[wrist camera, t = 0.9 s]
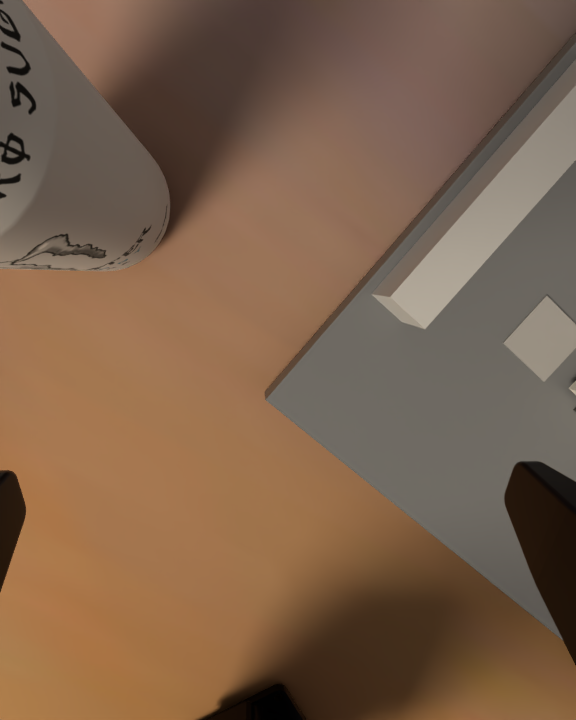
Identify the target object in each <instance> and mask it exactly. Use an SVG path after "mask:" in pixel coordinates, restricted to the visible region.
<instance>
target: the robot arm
mask: <svg viewBox="0 0 576 720" xmlns="http://www.w3.org/2000/svg"><path fill="white" fill-rule="evenodd" d="M504 502H505V507H506V510H507V512H508V515H509V518H510V520H511V523H512V525H513V528H514V531H515V533H516V536H517V538H518V541H519V544H520V546H521V549H522V551H523V554H524V557H525V559H526V562H527V565H528V567H529V570H530V572H531V575H532V577H533V579H534V582H535V584H536V586H537V588H538V591H539V593H540V595H541V597H542V599H543V601H544V603H545V605H546V607H547V609H548V611H549V613H550V615H551V617H552V619H553V621H554V623H555V625H556V627H557V629H558V631H559V633H560V635H561V637H562V639H563V641H564V643H565V645H566V647H567V649H568V651H569V653H570V655H571V657H572V659H573V661H574V663H575V665H576V481H574V480H572V479H570V478H569V477H567V476H565V475H563V474H562V473H560V472H558V471H557V470H555V469H553V468H551V467H550V466H548V465H546V464H544V463H543V462H540V461H520V462H517V463H516V464H515V465H514V467H513V470H512V473H511V476H510V479H509V482H508V485H507V488H506V490H505V494H504ZM25 515H26V506H25V502H24V498H23V495H22V492H21V489H20V485H19V482H18V479H17V476H16V474H15V473H14V472H12V471H9V470H1V471H0V592H1V589H2V586H3V583H4V580H5V577H6V574H7V571H8V568H9V565H10V562H11V559H12V556H13V553H14V550H15V547H16V544H17V541H18V538H19V535H20V532H21V529H22V526H23V523H24V520H25ZM277 694H281V695H277ZM207 720H306V719H305V717H304V716H303V714H302V712H301V711H300V709H299V707H298V706H297V704H296V703H295V701H294V699H293V698H292V696H291V695H290V693H289V691H288V690H287V688H286V687H285V686H284V685H281V684H277V685H274V686H272V687H270V688H268V689H266V690H264V691H262V692H260V693H258V694H256V695H254V696H252V697H250V698H248V699H246V700H245V701H243V702H241V703H239V704H237V705H235V706H233V707H231V708H229V709H227V710H225V711H223V712H221V713H219V714H217V715H215V716H213V717H211V718H209V719H207Z"/></svg>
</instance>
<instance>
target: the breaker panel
mask: <svg viewBox="0 0 576 720" xmlns="http://www.w3.org/2000/svg"><path fill="white" fill-rule="evenodd" d="M575 381H576V33H575V34H574V35H573V36H572V37H571V39H570V40H569V41H568V42H567V43H566V44H565V46H564V47H563V48H562V49H561V50H560V51H559V53H558V54H557V55H556V56H555V57H554V58H553V59H552V61H551V62H550V63H549V64H548V65H547V66H546V68H545V69H544V70H543V71H542V72H541V73H540V74H539V76H538V77H537V78H536V79H535V80H534V81H533V83H532V84H531V85H530V86H529V87H528V88H527V89H526V91H525V92H524V93H523V94H522V95H521V96H520V98H519V99H518V100H517V101H516V102H515V103H514V105H513V106H512V107H511V108H510V109H509V110H508V111H507V113H506V114H505V115H504V116H503V117H502V118H501V120H500V121H499V122H498V123H497V124H496V125H495V126H494V128H493V129H492V130H491V131H490V132H489V133H488V135H487V136H486V137H485V138H484V139H483V140H482V141H481V143H480V144H479V145H478V146H477V147H476V148H475V150H474V151H473V152H472V153H471V154H470V155H469V156H468V158H467V159H466V160H465V161H464V162H463V163H462V165H461V166H460V167H459V168H458V169H457V170H456V172H455V173H454V174H453V175H452V176H451V177H450V178H449V180H448V181H447V182H446V183H445V184H444V185H443V187H442V188H441V189H440V190H439V191H438V192H437V193H436V195H435V196H434V197H433V198H432V199H431V200H430V202H429V203H428V204H427V205H426V206H425V207H424V208H423V210H422V211H421V212H420V213H419V214H418V215H417V217H416V218H415V219H414V220H413V221H412V222H411V224H410V225H409V226H408V227H407V228H406V229H405V230H404V232H403V233H402V234H401V235H400V236H399V237H398V239H397V240H396V241H395V242H394V243H393V244H392V245H391V247H390V248H389V249H388V250H387V251H386V252H385V254H384V255H383V256H382V257H381V258H380V259H379V260H378V262H377V263H376V264H375V265H374V266H373V267H372V269H371V270H370V271H369V272H368V273H367V274H366V276H365V277H364V278H363V279H362V280H361V281H360V282H359V284H358V285H357V286H356V287H355V288H354V289H353V291H352V292H351V293H350V294H349V295H348V296H347V297H346V299H345V300H344V301H343V302H342V303H341V304H340V306H339V307H338V308H337V309H336V310H335V311H334V312H333V314H332V315H331V316H330V317H329V318H328V319H327V321H326V322H325V323H324V324H323V325H322V326H321V328H320V329H319V330H318V331H317V332H316V333H315V334H314V336H313V337H312V338H311V339H310V340H309V341H308V343H307V344H306V345H305V346H304V347H303V348H302V349H301V351H300V352H299V353H298V354H297V355H296V356H295V358H294V359H293V360H292V361H291V362H290V363H289V364H288V366H287V367H286V368H285V369H284V370H283V371H282V373H281V374H280V375H279V376H278V377H277V378H276V380H275V381H274V382H273V383H272V384H271V385H270V386H269V388H268V389H267V390H266V391H265V400H266V401H268V402H269V403H270V404H271V405H273V406H274V407H275V408H276V409H277V410H279V411H280V412H281V413H282V414H284V415H285V416H286V417H287V418H289V419H290V420H291V421H292V422H294V423H295V424H296V425H297V426H298V427H300V428H301V429H302V430H303V431H305V432H306V433H307V434H308V435H310V436H311V437H312V438H313V439H315V440H316V441H317V442H318V443H319V444H321V445H322V446H323V447H324V448H326V449H327V450H328V451H329V452H331V453H332V454H333V455H334V456H336V457H337V458H338V459H339V460H341V461H342V462H343V463H344V464H345V465H347V466H348V467H349V468H350V469H352V470H353V471H354V472H355V473H357V474H358V475H359V476H360V477H362V478H363V479H364V480H365V481H366V482H368V483H369V484H370V485H371V486H373V487H374V488H375V489H376V490H378V491H379V492H380V493H381V494H383V495H384V496H385V497H386V498H387V499H389V500H390V501H391V502H392V503H394V504H395V505H396V506H397V507H399V508H400V509H401V510H402V511H404V512H405V513H406V514H407V515H408V516H410V517H411V518H412V519H413V520H415V521H416V522H417V523H418V524H420V525H421V526H422V527H423V528H425V529H426V530H427V531H428V532H430V533H431V534H432V535H433V536H434V537H436V538H437V539H438V540H439V541H441V542H442V543H443V544H444V545H446V546H447V547H448V548H449V549H451V550H452V551H453V552H454V553H455V554H457V555H458V556H459V557H460V558H462V559H463V560H464V561H465V562H467V563H468V564H469V565H470V566H472V567H473V568H474V569H475V570H476V571H478V572H479V573H480V574H481V575H483V576H484V577H485V578H486V579H488V580H489V581H490V582H491V583H493V584H494V585H495V586H496V587H497V588H499V589H500V590H501V591H502V592H504V593H505V594H506V595H507V596H509V597H510V598H511V599H512V600H514V601H515V602H516V603H517V604H518V605H520V606H521V607H522V608H523V609H525V610H526V611H527V612H528V613H530V614H531V615H532V616H533V617H535V618H536V619H537V620H538V621H540V622H541V623H542V624H543V625H544V626H546V627H547V628H548V629H549V630H551V631H552V632H553V633H554V634H556V635H557V636H558V637H559V638H561V639H562V637H561V635H560V633H559V631H558V629H557V627H556V625H555V623H554V621H553V619H552V617H551V615H550V613H549V611H548V609H547V607H546V605H545V603H544V601H543V599H542V597H541V595H540V593H539V591H538V588H537V586H536V584H535V582H534V579H533V577H532V575H531V572H530V570H529V567H528V565H527V562H526V559H525V557H524V554H523V551H522V549H521V546H520V544H519V541H518V538H517V536H516V533H515V531H514V528H513V525H512V523H511V520H510V518H509V515H508V512H507V510H506V507H505V502H504V494H505V490H506V488H507V485H508V482H509V479H510V476H511V473H512V470H513V467H514V465H515V464H516V463H517V462H520V461H540V462H543V463H544V464H546V465H548V466H550V467H551V468H553V469H555V470H557V471H558V472H560V473H562V474H563V475H565V476H567V477H569V478H570V479H572V480H574V481H576V395H575V394H574V393H573V392H572V391H571V390H570V389H569V387H570V386H571V385H572V384H573V383H574V382H575ZM562 640H563V639H562Z"/></svg>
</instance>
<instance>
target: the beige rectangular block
mask: <svg viewBox="0 0 576 720" xmlns="http://www.w3.org/2000/svg"><path fill="white" fill-rule="evenodd" d="M569 389H570V390H571V391H572V392H573V393H574V394H575V395H576V381H575V382H574V383H573V384H572V385H571V386H570V387H569Z"/></svg>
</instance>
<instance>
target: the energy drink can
mask: <svg viewBox="0 0 576 720" xmlns="http://www.w3.org/2000/svg"><path fill="white" fill-rule="evenodd" d="M169 216H170V195H169V190H168V186H167V183H166V179H165V177H164V175H163V173H162V171H161V169H160V167H159V165H158V164H157V163H156V161H155V160H154V159H153V157H152V156H151V155H150V153H149V152H148V151H147V150H146V148H145V147H144V146H143V145H142V144H141V142H140V141H139V140H138V139H137V138H136V136H135V135H134V134H133V133H132V132H131V130H130V129H129V128H128V127H127V126H126V124H125V123H124V122H123V121H122V120H121V118H120V117H119V116H118V115H117V114H116V112H115V111H114V110H113V109H112V108H111V106H110V105H109V104H108V103H107V102H106V100H105V99H104V98H103V97H102V96H101V94H100V93H99V92H98V91H97V90H96V88H95V87H94V86H93V85H92V84H91V82H90V81H89V80H88V79H87V78H86V76H85V75H84V74H83V73H82V72H81V70H80V69H79V68H78V67H77V66H76V64H75V63H74V62H73V61H72V60H71V58H70V57H69V56H68V55H67V54H66V52H65V51H64V50H63V49H62V48H61V46H60V45H59V44H58V43H57V42H56V40H55V39H54V38H53V37H52V36H51V34H50V33H49V32H48V31H47V30H46V28H45V27H44V26H43V25H42V24H41V22H40V21H39V20H38V19H37V17H36V16H35V15H34V14H33V13H32V11H31V10H30V9H29V8H28V7H27V5H26V4H25V3H24V2H23V1H22V0H0V269H34V270H74V271H116V270H120V269H124V268H128V267H130V266H132V265H134V264H137V263H139V262H140V261H142V260H143V259H144V258H146V257H147V256H148V255H150V254H151V253H152V251H153V250H154V249H155V248H156V247H157V246H158V244H159V243H160V241H161V239H162V237H163V235H164V234H165V231H166V228H167V225H168V222H169Z"/></svg>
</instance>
